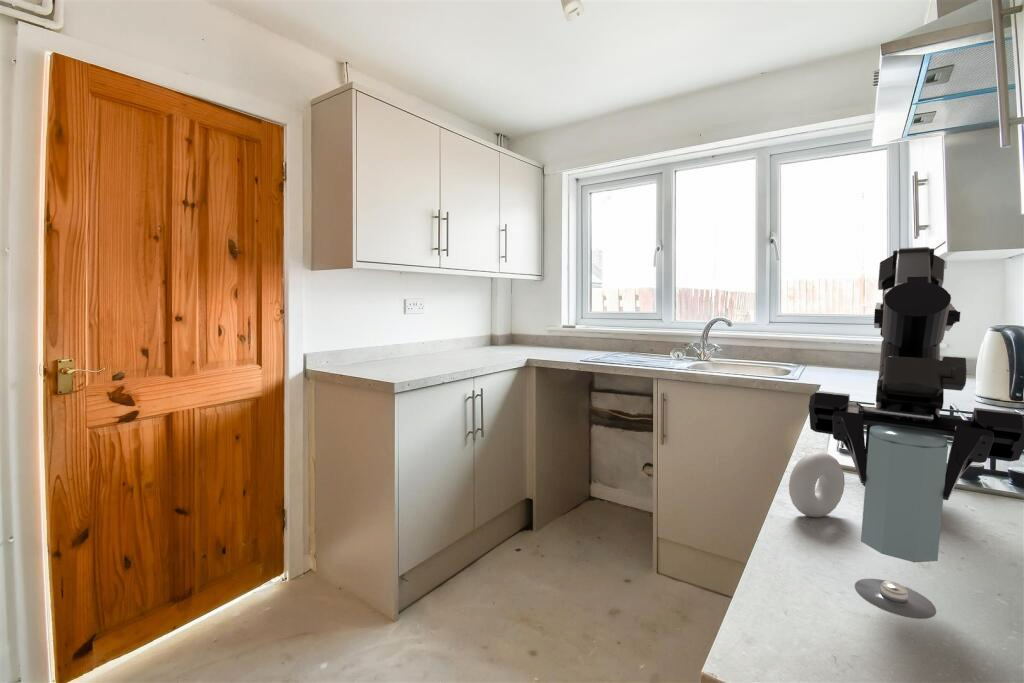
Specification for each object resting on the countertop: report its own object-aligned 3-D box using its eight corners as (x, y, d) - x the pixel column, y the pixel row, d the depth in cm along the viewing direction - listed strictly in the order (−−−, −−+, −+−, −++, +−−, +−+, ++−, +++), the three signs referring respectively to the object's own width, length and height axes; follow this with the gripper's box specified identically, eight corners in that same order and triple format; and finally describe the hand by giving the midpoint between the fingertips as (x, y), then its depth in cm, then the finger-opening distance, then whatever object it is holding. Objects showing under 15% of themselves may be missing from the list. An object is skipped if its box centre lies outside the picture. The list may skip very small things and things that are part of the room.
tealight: (874, 589, 54) (875, 579, 54) (897, 591, 54) (898, 580, 54) (889, 603, 52) (890, 592, 52) (913, 604, 52) (914, 593, 51)
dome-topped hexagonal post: (847, 533, 55) (855, 425, 54) (896, 530, 56) (906, 424, 55) (898, 563, 49) (908, 442, 48) (953, 560, 50) (965, 441, 49)
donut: (825, 506, 77) (830, 445, 76) (847, 515, 74) (852, 452, 73) (781, 516, 73) (785, 452, 72) (802, 526, 70) (806, 459, 69)
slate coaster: (841, 579, 57) (841, 576, 57) (904, 583, 56) (904, 580, 56) (881, 618, 50) (881, 615, 50) (953, 623, 49) (954, 620, 49)
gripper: (815, 325, 59) (796, 432, 52) (1036, 334, 48) (1053, 473, 40) (818, 380, 66) (802, 482, 58) (1012, 399, 55) (1023, 528, 47)
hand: (902, 489), depth 51 cm, fingers closed on dome-topped hexagonal post, 6 cm apart
